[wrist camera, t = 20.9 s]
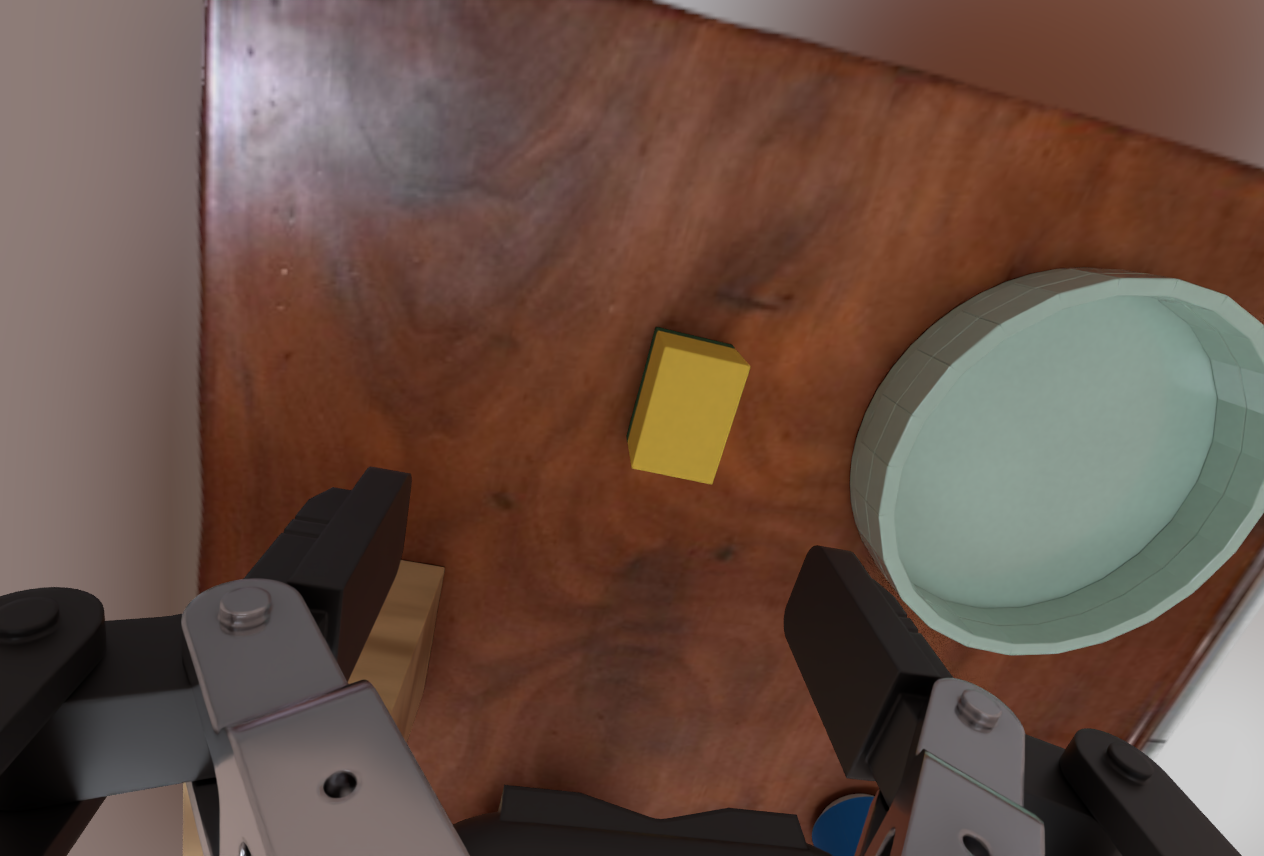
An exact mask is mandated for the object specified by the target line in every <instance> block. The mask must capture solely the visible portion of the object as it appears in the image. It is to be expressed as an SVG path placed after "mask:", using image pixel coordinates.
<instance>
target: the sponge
mask: <svg viewBox="0 0 1264 856" xmlns="http://www.w3.org/2000/svg"><path fill="white" fill-rule="evenodd" d="M749 370H750V365H749V364H748V363H747V362H746V361H745V360H744V358H743V357H742V356H741V355H740V354H739V353H738V352H737V351H736V349H735V348H734V347H733V346H732V345H731V344H727V343H722V342H718V341H714V340H710V339H706V338H701V337H697V336H693V335H689V334H685V333H681V332H676V331H672V330H668V329H664V328H660V327H656V328H655V331H654V335H653V339H652V342H651V346H650V350H649V354H648V357H647V361H646V365H645V369H644V372H643V376H642V380H641V384H640V387H639V391H638V395H637V399H636V402H635V406H634V410H633V414H632V417H631V421H630V425H629V428H628V432H627V442H628V448H629V454H630V461H631V467H632V468H633V469H638V470H643V471H648V472H653V473H658V474H663V475H668V476H673V477H677V478H682V479H687V480H692V481H697V482H702V483H707V484H712V483H713V480H714V477H715V474H716V471H717V468H718V465H719V462H720V459H721V456H722V453H723V450H724V447H725V444H726V441H727V438H728V435H729V432H730V429H731V425H732V422H733V419H734V416H735V413H736V410H737V407H738V404H739V401H740V398H741V395H742V392H743V389H744V386H745V383H746V380H747V377H748V374H749Z"/></svg>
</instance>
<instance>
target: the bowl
mask: <svg viewBox="0 0 1264 856" xmlns="http://www.w3.org/2000/svg"><path fill="white" fill-rule="evenodd" d="M850 493H851V505H852V509H853V514H854V519H855V523H856V526H857V528H858V531H859V534H860V536H861V539H862V541H863V543H864V545H865V546H866V548H867V550H868V551H869V553H870V555H871V557H872V558H873V560H874V562H875V564H876V566H877V567H878V568H879V570H880V571H881V572H882V574H883V575H884V576H885V578H886V579H887V580H888V582H889V583H890V584H891V586H892V587H893V588H894V590H895V591H896V592H897V594H898V595H899V596H900V598H901V599H902V600H903V601H904V602H905V603H906V604H907V605H908V606H909V607H910V608H911V609H912V610H913V611H914V612H915V613H916V614H917V615H918V616H919V617H920V618H921V619H922V620H923V621H924V622H925V623H926V624H927V625H928V626H929V627H930V628H932V629H934V630H936V631H938V632H940V633H942V634H943V635H945V636H947V637H949V638H951V639H953V640H955V641H957V642H959V643H961V644H963V645H965V646H967V647H972V648H976V649H981V650H986V651H991V652H996V653H1001V654H1005V655H1036V654H1058V653H1062V652H1066V651H1070V650H1075V649H1079V648H1083V647H1087V646H1091V645H1095V644H1100V643H1103V642H1106V641H1108V640H1110V639H1113V638H1115V637H1117V636H1119V635H1122V634H1124V633H1126V632H1128V631H1131V630H1133V629H1135V628H1137V627H1140V626H1142V625H1144V624H1146V623H1148V622H1150V621H1152V620H1154V619H1155V618H1157V617H1158V616H1160V615H1161V614H1163V613H1164V612H1166V611H1167V610H1168V609H1170V608H1171V607H1173V606H1174V605H1176V604H1177V603H1179V602H1180V601H1182V600H1183V599H1185V598H1186V597H1188V596H1189V595H1191V594H1192V593H1194V592H1195V591H1196V590H1197V589H1198V588H1199V587H1200V586H1201V585H1202V584H1203V583H1204V582H1205V581H1206V580H1207V579H1208V578H1209V577H1210V576H1212V575H1213V574H1214V573H1215V572H1216V571H1217V570H1218V569H1219V568H1220V567H1221V566H1222V565H1223V564H1224V563H1225V562H1226V561H1227V560H1228V559H1229V558H1230V557H1231V556H1232V555H1233V553H1235V552H1236V551H1237V549H1238V548H1239V547H1240V545H1241V544H1242V542H1243V541H1244V540H1245V538H1246V537H1247V535H1248V534H1249V533H1250V531H1251V530H1252V528H1253V527H1254V525H1255V524H1256V523H1257V521H1258V520H1259V518H1260V517H1261V516H1262V514H1263V513H1264V325H1263V324H1262V323H1260V322H1259V321H1258V320H1257V319H1256V318H1254V317H1253V316H1252V315H1251V314H1249V313H1248V312H1247V311H1246V310H1244V309H1243V308H1242V307H1241V306H1240V305H1238V304H1237V303H1236V302H1235V301H1233V300H1232V299H1231V298H1230V297H1229V296H1226V295H1225V294H1222V293H1219V292H1216V291H1213V290H1210V289H1207V288H1204V287H1201V286H1198V285H1195V284H1192V283H1189V282H1186V281H1183V280H1180V279H1176V278H1170V277H1164V276H1158V275H1152V274H1146V273H1140V272H1134V271H1128V270H1121V269H1100V268H1089V267H1078V268H1060V269H1054V270H1048V271H1043V272H1038V273H1033V274H1029V275H1026V276H1023V277H1020V278H1017V279H1013V280H1010V281H1007V282H1004V283H1002V284H1000V285H998V286H996V287H993V288H991V289H989V290H987V291H985V292H982V293H980V294H978V295H976V296H975V297H973V298H971V299H970V300H968V301H966V302H965V303H963V304H961V305H960V306H958V307H956V308H955V309H953V310H952V311H951V312H949V313H948V314H947V315H945V316H944V317H943V318H941V319H940V320H939V321H937V322H936V323H935V324H933V325H932V326H931V327H930V328H929V329H928V330H927V331H926V332H924V333H923V334H922V335H921V336H920V337H919V338H918V339H917V340H916V341H915V342H914V343H913V344H912V345H911V346H910V347H909V348H908V349H907V350H906V352H905V353H904V354H903V355H902V356H901V358H900V359H899V360H898V361H897V362H896V363H895V365H894V366H893V367H892V368H891V370H890V371H889V373H888V374H887V376H886V377H885V379H884V380H883V382H882V383H881V385H880V386H879V388H878V389H877V391H876V393H875V395H874V397H873V399H872V401H871V403H870V405H869V407H868V409H867V411H866V413H865V415H864V418H863V421H862V424H861V426H860V429H859V432H858V434H857V438H856V443H855V447H854V451H853V456H852V463H851V474H850Z"/></svg>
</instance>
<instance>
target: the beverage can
mask: <svg viewBox="0 0 1264 856" xmlns="http://www.w3.org/2000/svg"><path fill="white" fill-rule="evenodd" d="M874 797H875V796H873V795H869V794H852V795H847V796H844V797H841V798H839V799H837V800H835V801H834V802H832V803H831V804H830V805H828V806H827V807H826V808H825V809H824V811H823V812H822V814H821V815H820V816H819V818H818V819H817V821H816V822H815V824H814V827H813V830H812V841H813V844H814V846H815V847H817V848H819V849H821V850H823V851H825V852H827V853H829V854H831V855H833V856H854V855H855V852H856V849H857V846H858V843H859V840H860V836H861V833H862V830H863V827H864V824H865V821H866V817H867V814H868V811H869V808H870V805H871V803H872V800H873V799H874Z"/></svg>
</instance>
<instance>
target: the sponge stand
mask: <svg viewBox="0 0 1264 856" xmlns="http://www.w3.org/2000/svg"><path fill="white" fill-rule="evenodd" d="M444 571H445V568H444V567H440V566H434V565H428V564H422V563H416V562H410V561H404V560H401V561H400V565H399V569H398V572H397V575H396V577H395V580H394V582H393V584H392V586H391V588H390V591H389V593H388V595H387V597H386V599H385V602H384V604H383V606H382V608H381V610H380V613H379V615H378V617H377V619H376V621H375V624H374V626H373V628H372V630H371V632H370V634H369V637H368V639H367V641H366V643H365V645H364V648H363V650H362V652H361V654H360V656H359V659H358V661H357V663H356V665H355V667H354V670H353V672H352V674H351V676H350V678H349V680H348V683H349V684H351V683H354V682H357V681H360V680H364V679H365V680H368V681H369V682H370V683H371V684H372V685H373V686H374V687H375V689H376V690H377V692H378V694H379V695H380V697H381V699H382V701H383V702H384V704H385V706H386V708H387V709H388V711H389V713H390V715H391V717H392V718H393V720H394V722H395V724H396V725H397V727H398V729H399V731H400V732H401V734H402V736H403V738H404V740H405V741H406V743H407V742H408V739H409V736H410V732H411V729H412V726H413V723H414V720H415V717H416V714H417V711H418V708H419V704H420V701H421V698H422V695H423V692H424V687H425V681H426V675H427V670H428V664H429V658H430V652H431V646H432V641H433V635H434V629H435V623H436V617H437V612H438V606H439V600H440V594H441V588H442V583H443V577H444ZM183 856H203V851H202V847H201V843H200V839H199V835H198V831H197V827H196V823H195V819H194V815H193V811H192V807H191V803H190V799H189V795H188V791H187V787H186V782H185V783H183Z"/></svg>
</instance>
